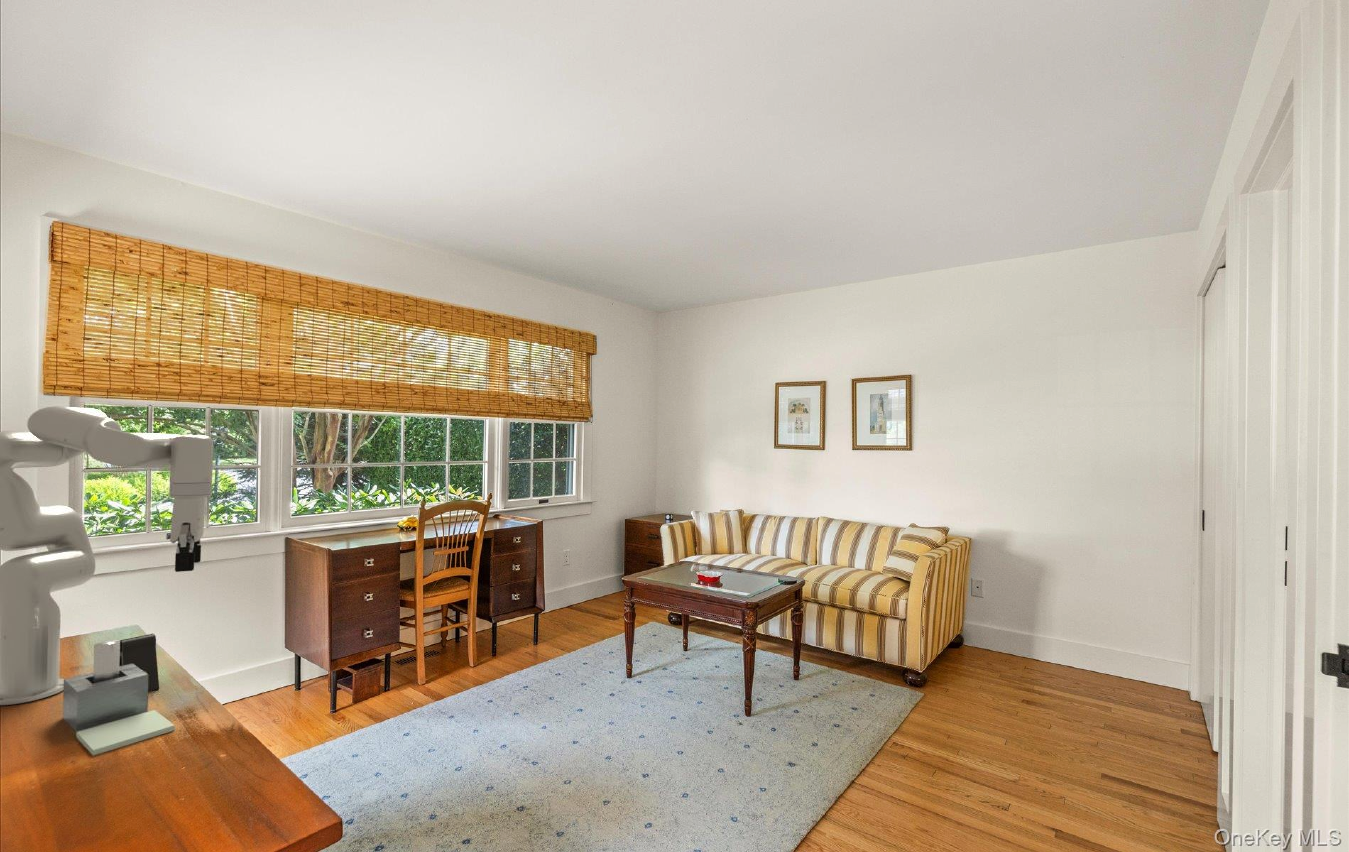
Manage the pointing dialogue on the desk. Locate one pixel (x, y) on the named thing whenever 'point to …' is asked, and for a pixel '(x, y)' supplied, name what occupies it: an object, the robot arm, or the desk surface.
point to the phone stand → (141, 657)
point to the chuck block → (104, 698)
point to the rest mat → (124, 732)
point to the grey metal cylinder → (106, 661)
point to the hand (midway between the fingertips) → (188, 566)
